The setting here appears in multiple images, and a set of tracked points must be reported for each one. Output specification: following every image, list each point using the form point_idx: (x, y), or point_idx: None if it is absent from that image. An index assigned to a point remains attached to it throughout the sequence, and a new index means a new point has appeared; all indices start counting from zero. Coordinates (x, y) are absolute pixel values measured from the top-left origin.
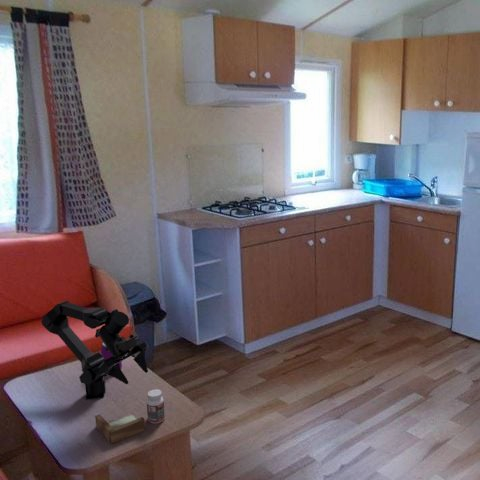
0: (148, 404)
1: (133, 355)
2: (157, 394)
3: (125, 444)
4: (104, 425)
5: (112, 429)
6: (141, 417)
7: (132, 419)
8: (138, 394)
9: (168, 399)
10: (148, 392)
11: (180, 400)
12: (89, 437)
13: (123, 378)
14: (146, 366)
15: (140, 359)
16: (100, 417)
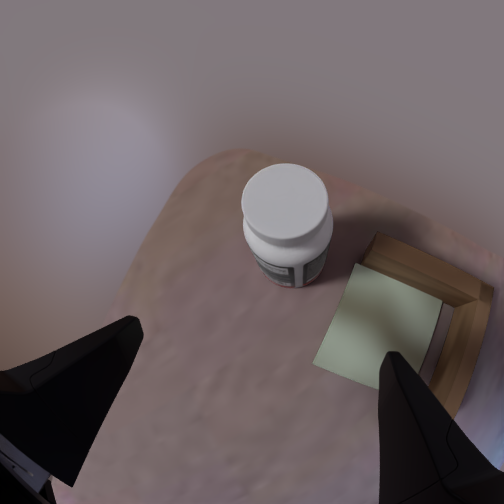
0: (332, 230)
1: (43, 493)
2: (292, 173)
3: (450, 256)
4: (480, 345)
5: (482, 296)
6: (376, 250)
7: (341, 337)
8: (170, 426)
9: (156, 297)
10: (299, 232)
11: (150, 253)
12: (474, 388)
13: (429, 392)
14: (97, 332)
15: (50, 407)
16: (449, 407)
